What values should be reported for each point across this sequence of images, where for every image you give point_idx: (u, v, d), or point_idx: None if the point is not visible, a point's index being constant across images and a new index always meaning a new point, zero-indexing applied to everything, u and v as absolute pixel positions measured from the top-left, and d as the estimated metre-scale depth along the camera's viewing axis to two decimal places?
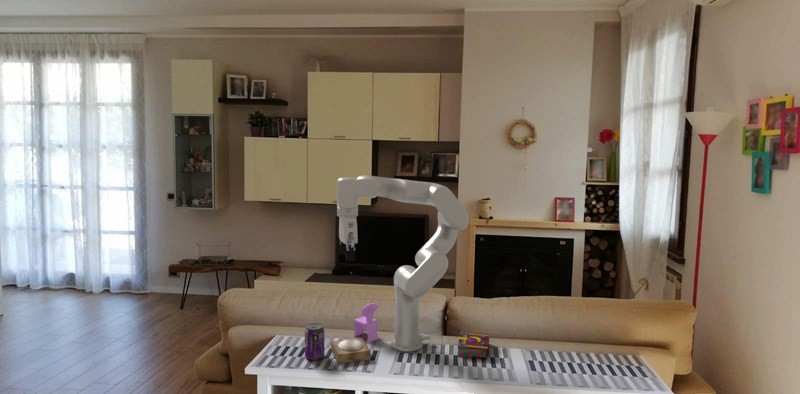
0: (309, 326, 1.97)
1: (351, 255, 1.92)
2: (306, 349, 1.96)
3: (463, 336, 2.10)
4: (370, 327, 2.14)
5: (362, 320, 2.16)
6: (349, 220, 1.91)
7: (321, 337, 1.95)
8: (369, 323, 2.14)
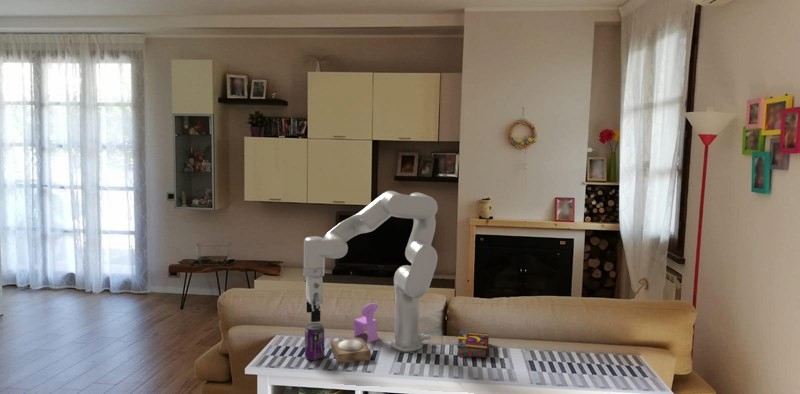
0: (309, 326, 1.97)
1: (316, 316, 1.91)
2: (306, 349, 1.96)
3: (463, 336, 2.11)
4: (370, 327, 2.14)
5: (362, 320, 2.16)
6: (315, 281, 1.90)
7: (321, 337, 1.95)
8: (369, 323, 2.14)
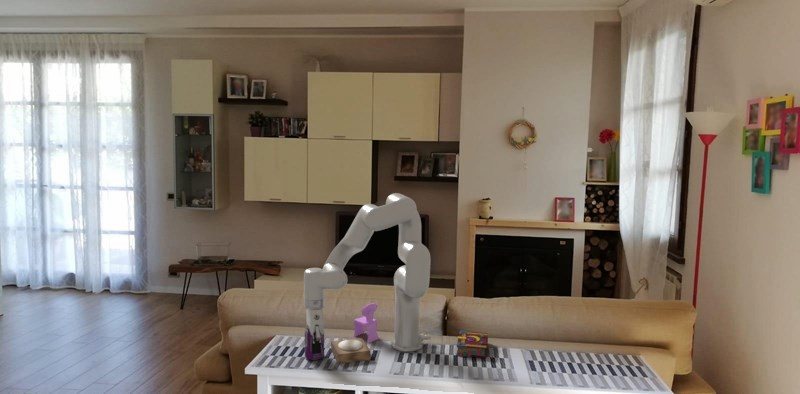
0: None
1: (317, 348, 1.93)
2: (305, 349, 1.96)
3: (462, 335, 2.11)
4: (370, 327, 2.14)
5: (362, 320, 2.16)
6: (315, 312, 1.92)
7: (321, 337, 1.95)
8: (369, 323, 2.14)
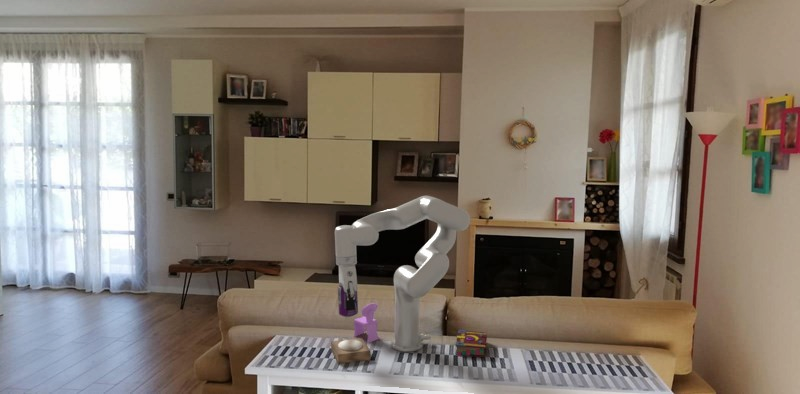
0: None
1: (351, 304, 1.94)
2: (339, 306, 1.96)
3: (461, 335, 2.12)
4: (370, 327, 2.14)
5: (362, 320, 2.16)
6: (348, 269, 1.92)
7: (354, 294, 1.96)
8: (369, 323, 2.14)
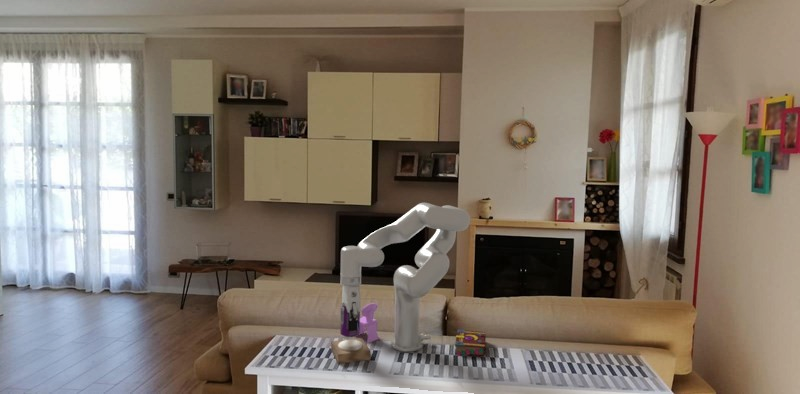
0: None
1: (353, 325, 1.95)
2: (341, 326, 1.97)
3: (460, 334, 2.12)
4: (370, 327, 2.14)
5: (362, 320, 2.16)
6: (352, 290, 1.93)
7: (357, 315, 1.97)
8: (369, 323, 2.14)
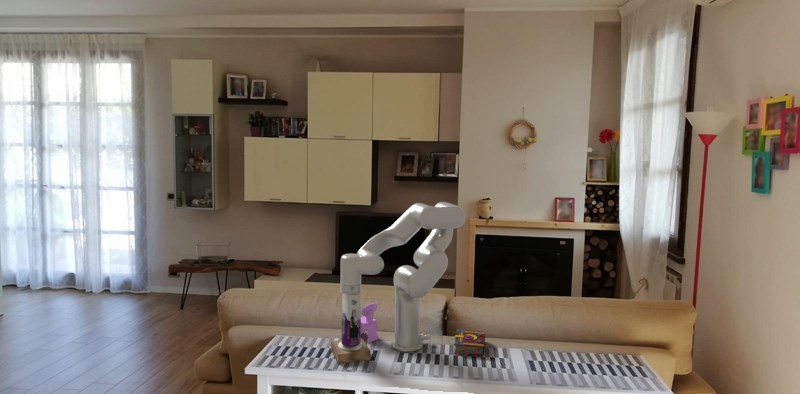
0: None
1: (354, 332, 1.94)
2: (342, 336, 1.98)
3: (459, 334, 2.12)
4: (370, 327, 2.14)
5: (362, 320, 2.16)
6: (352, 298, 1.93)
7: (358, 325, 1.97)
8: (369, 323, 2.14)
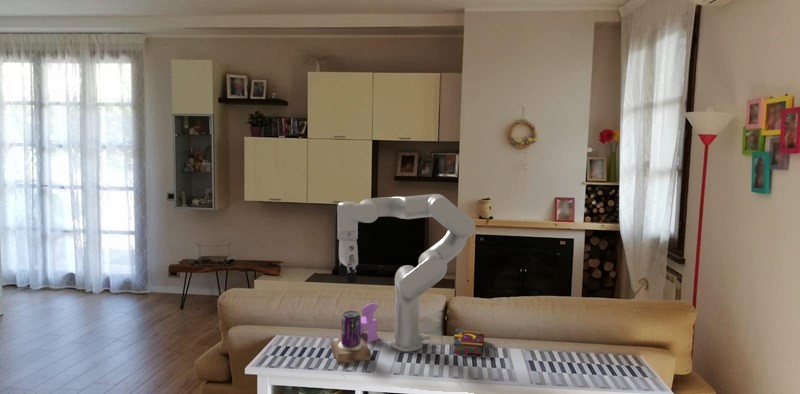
0: (346, 314, 1.99)
1: (352, 277, 1.98)
2: (342, 336, 1.98)
3: (458, 333, 2.13)
4: (370, 327, 2.14)
5: (362, 320, 2.16)
6: (350, 243, 1.98)
7: (358, 325, 1.97)
8: (369, 323, 2.14)
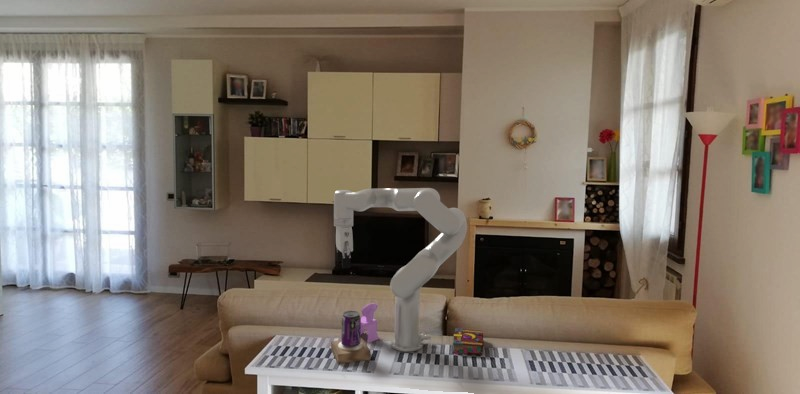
0: (346, 314, 1.99)
1: (347, 262, 2.06)
2: (342, 336, 1.98)
3: (458, 333, 2.13)
4: (370, 327, 2.14)
5: (362, 320, 2.16)
6: (345, 230, 2.06)
7: (358, 325, 1.97)
8: (369, 323, 2.14)
